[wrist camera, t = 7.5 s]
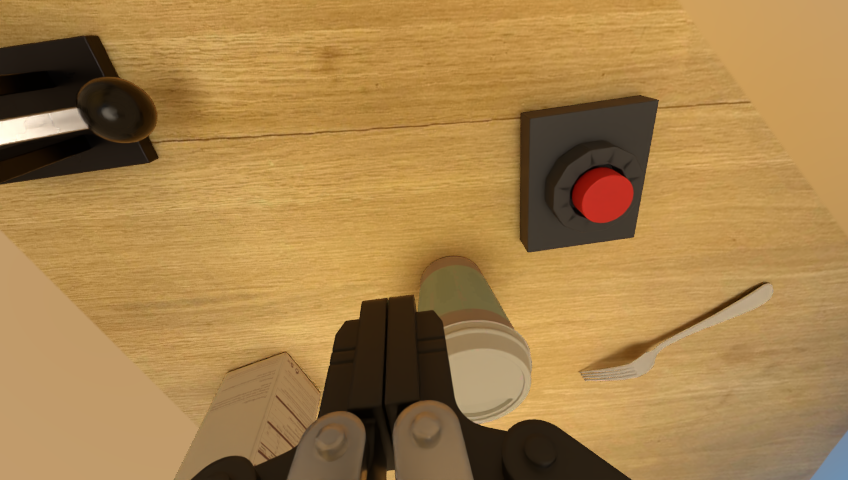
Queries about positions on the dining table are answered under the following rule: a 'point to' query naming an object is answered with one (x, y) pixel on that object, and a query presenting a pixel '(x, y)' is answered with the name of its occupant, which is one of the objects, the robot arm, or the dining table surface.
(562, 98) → the dining table surface
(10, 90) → the bracket
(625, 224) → the button block
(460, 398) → the coffee cup
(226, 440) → the white packaging box
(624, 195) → the button
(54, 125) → the lever
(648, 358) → the fork
